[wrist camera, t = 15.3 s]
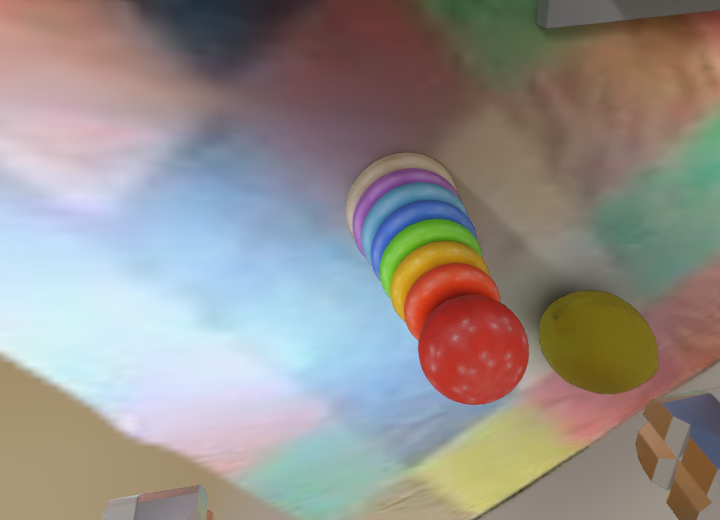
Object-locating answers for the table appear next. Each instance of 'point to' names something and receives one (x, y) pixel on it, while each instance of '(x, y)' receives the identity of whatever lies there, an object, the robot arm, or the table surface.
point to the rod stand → (613, 10)
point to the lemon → (598, 342)
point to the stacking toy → (437, 277)
